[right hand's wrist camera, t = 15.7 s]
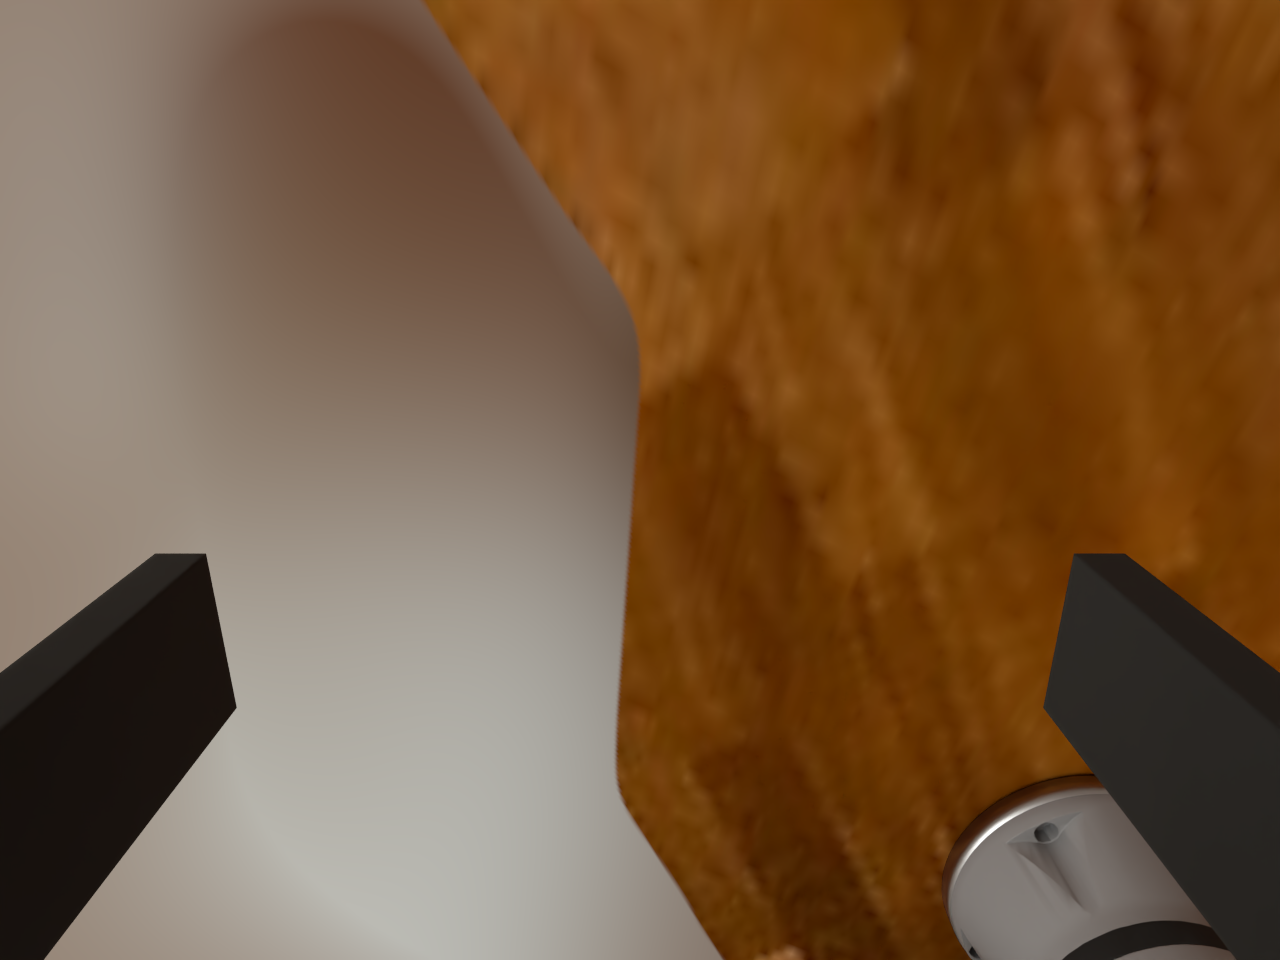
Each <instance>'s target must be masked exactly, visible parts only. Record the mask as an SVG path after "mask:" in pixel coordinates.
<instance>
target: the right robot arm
mask: <svg viewBox="0 0 1280 960" xmlns="http://www.w3.org/2000/svg"><path fill="white" fill-rule="evenodd" d="M1043 708H1044V709H1045V710H1046V712H1047V713H1048V714H1049V716H1050V717H1051V718H1052V720H1053V721H1054V722H1055V723H1056V725H1057V726H1058V727H1059V729H1060V730H1061V731H1062V733H1063V734H1064V735H1065V737H1066V738H1067V739H1068V740H1069V742H1070V743H1071V744H1072V746H1073V747H1074V748H1075V750H1076V751H1077V752H1078V754H1079V755H1080V756H1081V757H1082V759H1083V760H1084V761H1085V763H1086V764H1087V765H1088V767H1089V768H1090V769H1091V771H1092V772H1093V773H1094V774H1095V776H1071V777H1064V778H1058V779H1053V780H1049V781H1045V782H1041V783H1038V784H1035V785H1032V786H1029V787H1026V788H1024V789H1021V790H1019V791H1017V792H1015V793H1013V794H1011V795H1009V796H1007V797H1005V798H1003V799H1002V800H1000V801H998V802H997V803H995V804H994V805H992V806H991V807H989V808H988V809H987V810H985V811H984V812H983V813H982V814H981V815H979V816H978V817H977V818H976V819H975V820H974V821H973V822H972V823H971V824H970V825H969V826H968V827H967V828H966V829H965V831H964V832H963V833H962V834H961V836H960V837H959V839H958V840H957V841H956V843H955V845H954V846H953V848H952V850H951V852H950V854H949V856H948V859H947V861H946V865H945V868H944V872H943V877H942V898H943V903H944V907H945V910H946V912H947V915H948V918H949V920H950V922H951V925H952V927H953V929H954V932H955V934H956V936H957V938H958V940H959V942H960V944H961V945H962V946H963V948H964V949H965V951H966V952H967V954H968V955H969V957H970V958H971V959H972V960H1280V673H1279V672H1278V671H1277V670H1275V669H1274V668H1273V667H1271V666H1270V665H1269V664H1267V663H1266V662H1265V661H1264V660H1262V659H1261V658H1260V657H1258V656H1257V655H1256V654H1254V653H1253V652H1252V651H1251V650H1249V649H1248V648H1247V647H1245V646H1244V645H1243V644H1241V643H1240V642H1239V641H1238V640H1236V639H1235V638H1234V637H1232V636H1231V635H1230V634H1228V633H1227V632H1226V631H1225V630H1223V629H1222V628H1221V627H1219V626H1218V625H1217V624H1215V623H1214V622H1213V621H1212V620H1210V619H1209V618H1208V617H1206V616H1205V615H1204V614H1202V613H1201V612H1200V611H1199V610H1197V609H1196V608H1195V607H1193V606H1192V605H1191V604H1189V603H1188V602H1187V601H1186V600H1184V599H1183V598H1182V597H1180V596H1179V595H1178V594H1177V593H1175V592H1174V591H1173V590H1171V589H1170V588H1169V587H1167V586H1166V585H1165V584H1164V583H1162V582H1161V581H1160V580H1158V579H1157V578H1156V577H1154V576H1153V575H1152V574H1151V573H1149V572H1148V571H1147V570H1145V569H1144V568H1143V567H1141V566H1140V565H1139V564H1138V563H1136V562H1135V561H1134V560H1132V559H1131V558H1130V557H1128V556H1127V555H1126V554H1074V557H1073V562H1072V567H1071V572H1070V577H1069V582H1068V587H1067V592H1066V597H1065V602H1064V607H1063V612H1062V617H1061V622H1060V627H1059V632H1058V637H1057V642H1056V647H1055V652H1054V657H1053V662H1052V667H1051V672H1050V677H1049V682H1048V687H1047V692H1046V697H1045V702H1044V707H1043ZM235 709H236V702H235V697H234V692H233V687H232V682H231V677H230V672H229V667H228V662H227V657H226V652H225V647H224V642H223V637H222V632H221V627H220V622H219V617H218V612H217V607H216V602H215V597H214V592H213V587H212V582H211V577H210V572H209V567H208V562H207V557H206V554H154V555H153V556H152V557H150V558H149V559H148V560H146V561H145V562H144V563H142V564H141V565H140V566H139V567H137V568H136V569H135V570H133V571H132V572H131V573H130V574H128V575H127V576H126V577H124V578H123V579H122V580H120V581H119V582H118V583H116V584H115V585H114V586H113V587H111V588H110V589H109V590H107V591H106V592H105V593H103V594H102V595H101V596H100V597H98V598H97V599H96V600H94V601H93V602H92V603H91V604H89V605H88V606H87V607H85V608H84V609H83V610H81V611H80V612H79V613H78V614H76V615H75V616H74V617H72V618H71V619H70V620H68V621H67V622H66V623H65V624H63V625H62V626H61V627H59V628H58V629H57V630H55V631H54V632H53V633H52V634H50V635H49V636H48V637H46V638H45V639H44V640H42V641H41V642H40V643H39V644H37V645H36V646H35V647H33V648H32V649H31V650H29V651H28V652H27V653H26V654H24V655H23V656H22V657H20V658H19V659H18V660H17V661H15V662H14V663H13V664H11V665H10V666H9V667H7V668H6V669H5V670H3V671H2V672H1V673H0V960H44V959H45V957H46V956H47V955H48V953H49V952H50V951H51V950H52V948H53V947H54V946H55V944H56V943H57V942H58V940H59V939H60V938H61V936H62V935H63V934H64V933H65V931H66V930H67V929H68V927H69V926H70V925H71V923H72V922H73V921H74V920H75V918H76V917H77V916H78V914H79V913H80V912H81V910H82V909H83V908H84V906H85V905H86V904H87V903H88V901H89V900H90V899H91V897H92V896H93V895H94V893H95V892H96V891H97V889H98V888H99V887H100V886H101V884H102V883H103V882H104V880H105V879H106V878H107V876H108V875H109V874H110V872H111V871H112V870H113V868H114V867H115V866H116V865H117V863H118V862H119V861H120V859H121V858H122V857H123V855H124V854H125V853H126V852H127V850H128V849H129V848H130V846H131V845H132V844H133V842H134V841H135V840H136V838H137V837H138V836H139V835H140V833H141V832H142V831H143V829H144V828H145V827H146V825H147V824H148V823H149V821H150V820H151V819H152V818H153V816H154V815H155V814H156V812H157V811H158V810H159V808H160V807H161V806H162V804H163V803H164V802H165V801H166V799H167V798H168V797H169V795H170V794H171V793H172V791H173V790H174V789H175V787H176V786H177V785H178V784H179V782H180V781H181V780H182V778H183V777H184V776H185V774H186V773H187V772H188V771H189V769H190V768H191V767H192V765H193V764H194V763H195V761H196V760H197V759H198V757H199V756H200V755H201V754H202V752H203V751H204V750H205V748H206V747H207V746H208V744H209V743H210V742H211V740H212V739H213V738H214V737H215V735H216V734H217V733H218V731H219V730H220V729H221V727H222V726H223V725H224V723H225V722H226V721H227V720H228V718H229V717H230V716H231V714H232V713H233V712H234V710H235Z"/></svg>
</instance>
